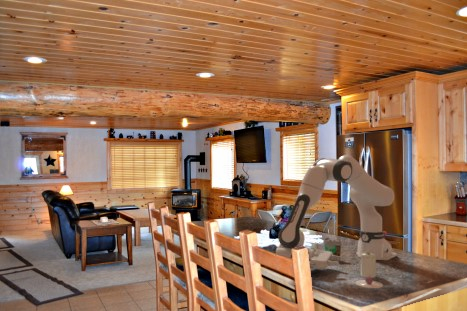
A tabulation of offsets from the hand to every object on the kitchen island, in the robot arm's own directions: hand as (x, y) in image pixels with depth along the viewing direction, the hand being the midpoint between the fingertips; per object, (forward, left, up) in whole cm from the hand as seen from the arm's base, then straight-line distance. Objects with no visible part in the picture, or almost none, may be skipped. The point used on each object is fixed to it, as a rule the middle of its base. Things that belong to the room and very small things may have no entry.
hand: (340, 261), depth 186 cm
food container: (-21, -22, -6) cm, 32 cm away
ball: (+4, +18, -5) cm, 19 cm away
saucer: (+4, +18, -6) cm, 19 cm away
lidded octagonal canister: (-6, +11, -6) cm, 14 cm away
